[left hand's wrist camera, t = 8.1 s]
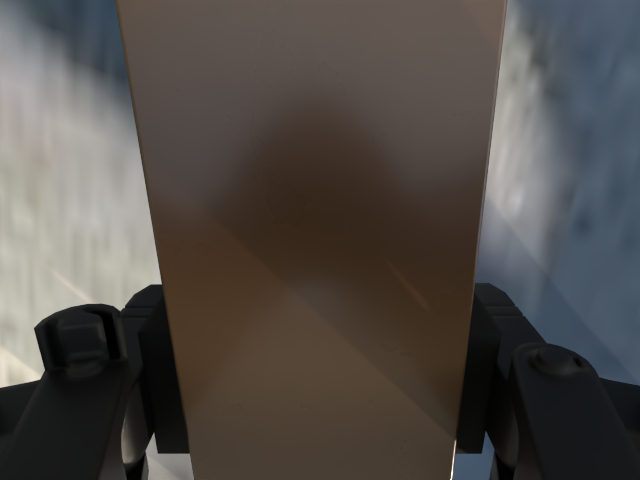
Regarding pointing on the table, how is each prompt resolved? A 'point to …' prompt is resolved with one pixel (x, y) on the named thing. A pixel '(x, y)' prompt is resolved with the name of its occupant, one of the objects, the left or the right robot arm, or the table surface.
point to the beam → (316, 223)
